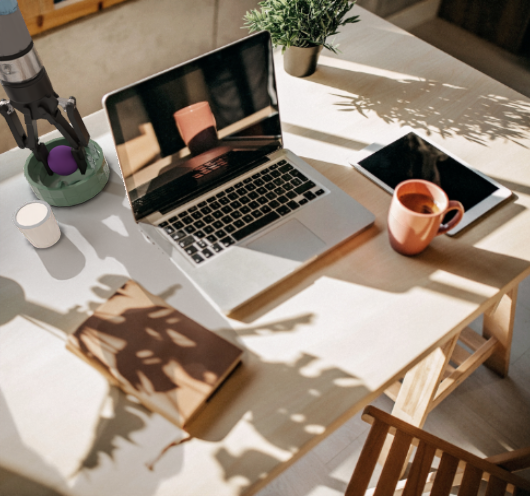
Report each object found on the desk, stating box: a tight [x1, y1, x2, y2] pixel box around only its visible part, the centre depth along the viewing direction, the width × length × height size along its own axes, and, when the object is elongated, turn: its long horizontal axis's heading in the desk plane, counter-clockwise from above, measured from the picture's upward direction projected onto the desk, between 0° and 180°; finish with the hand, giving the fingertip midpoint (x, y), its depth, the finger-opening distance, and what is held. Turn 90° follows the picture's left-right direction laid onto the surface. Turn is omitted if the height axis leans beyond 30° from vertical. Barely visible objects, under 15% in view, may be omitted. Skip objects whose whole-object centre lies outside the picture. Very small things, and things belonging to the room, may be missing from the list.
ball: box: [47, 145, 78, 176], centre depth 99 cm, size 6×6×6 cm
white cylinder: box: [11, 199, 62, 249], centre depth 92 cm, size 7×7×7 cm
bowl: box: [23, 135, 111, 207], centre depth 101 cm, size 16×16×5 cm
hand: (68, 170), depth 101 cm, fingers closed on ball, 6 cm apart
